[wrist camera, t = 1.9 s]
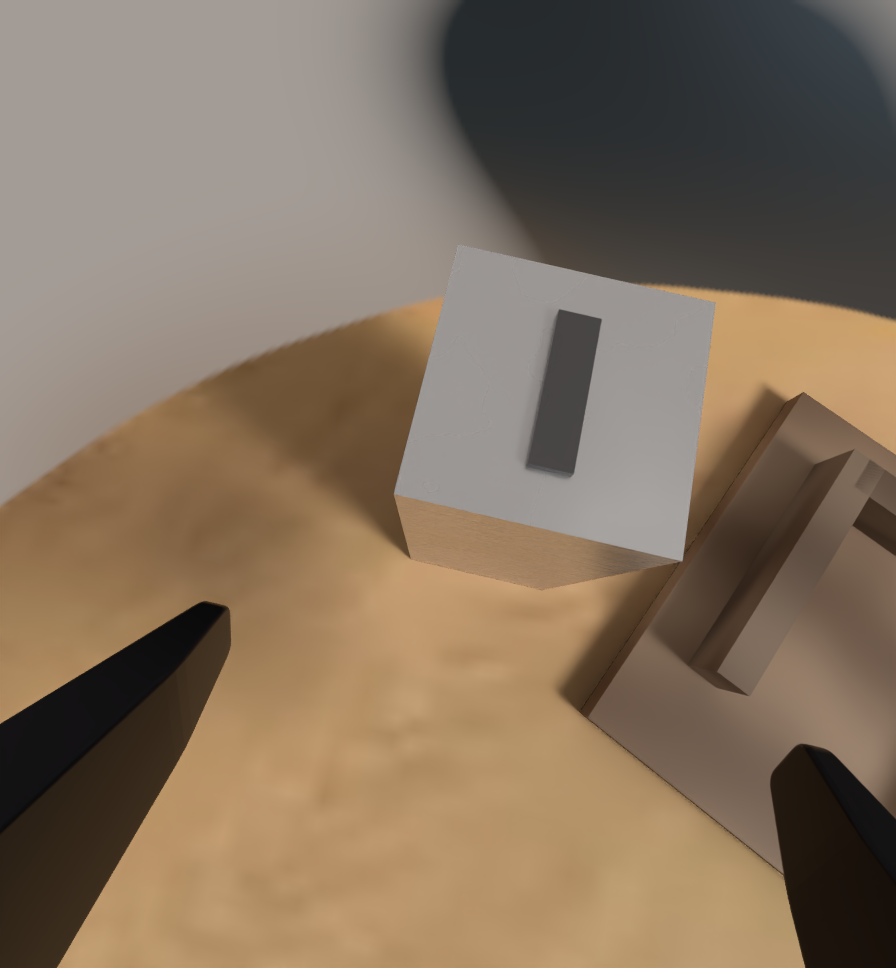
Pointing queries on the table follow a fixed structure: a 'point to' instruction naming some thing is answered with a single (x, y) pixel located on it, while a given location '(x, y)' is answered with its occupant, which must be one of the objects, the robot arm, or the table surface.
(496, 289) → the block
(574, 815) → the table surface
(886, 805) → the cradle
